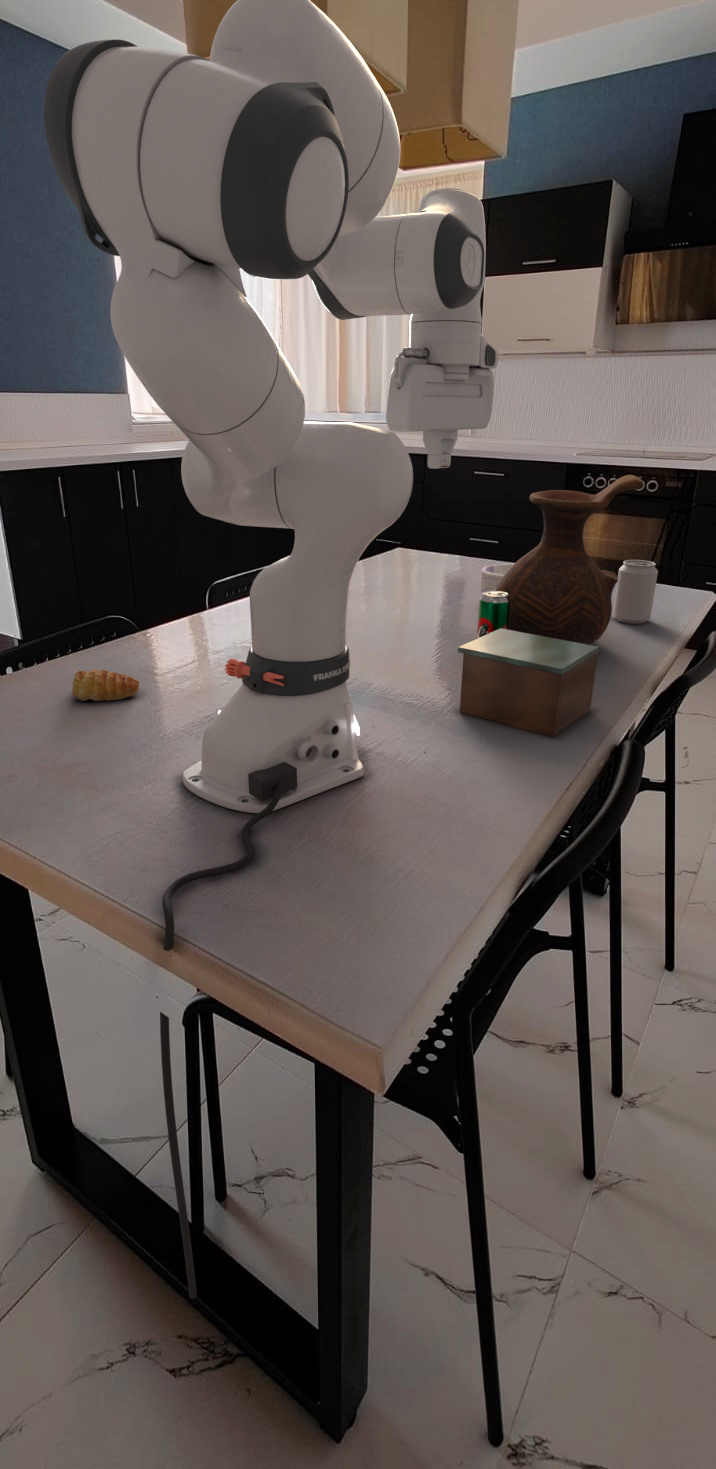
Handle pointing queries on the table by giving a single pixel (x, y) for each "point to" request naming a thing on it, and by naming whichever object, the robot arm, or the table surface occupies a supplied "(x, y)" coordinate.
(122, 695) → the pastry
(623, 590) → the can
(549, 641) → the lid
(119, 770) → the table surface
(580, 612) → the jug
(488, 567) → the paper bowls
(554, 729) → the chest
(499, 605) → the soda can
